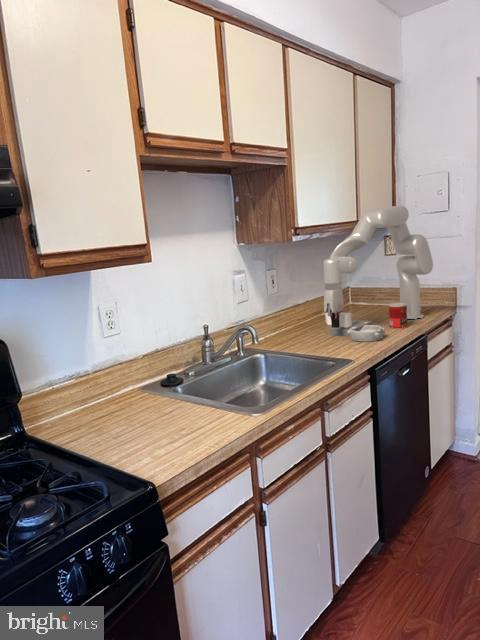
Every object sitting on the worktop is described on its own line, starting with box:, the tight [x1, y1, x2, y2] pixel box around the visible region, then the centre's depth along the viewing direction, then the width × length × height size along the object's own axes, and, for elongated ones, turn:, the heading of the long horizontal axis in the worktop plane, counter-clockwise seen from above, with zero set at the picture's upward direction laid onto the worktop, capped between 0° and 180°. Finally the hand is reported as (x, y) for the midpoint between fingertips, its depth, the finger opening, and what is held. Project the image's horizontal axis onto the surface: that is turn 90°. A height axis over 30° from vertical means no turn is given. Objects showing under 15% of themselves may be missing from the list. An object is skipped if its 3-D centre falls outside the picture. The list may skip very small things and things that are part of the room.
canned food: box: [388, 302, 408, 329], centre depth 221 cm, size 8×8×11 cm
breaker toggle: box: [339, 312, 352, 328], centre depth 218 cm, size 4×5×6 cm
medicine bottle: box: [324, 312, 332, 326], centre depth 243 cm, size 7×7×12 cm
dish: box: [347, 324, 386, 342], centre depth 205 cm, size 14×14×5 cm
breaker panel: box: [328, 319, 374, 337], centre depth 223 cm, size 20×12×3 cm, turn 139°
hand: (335, 327), depth 212 cm, fingers closed
